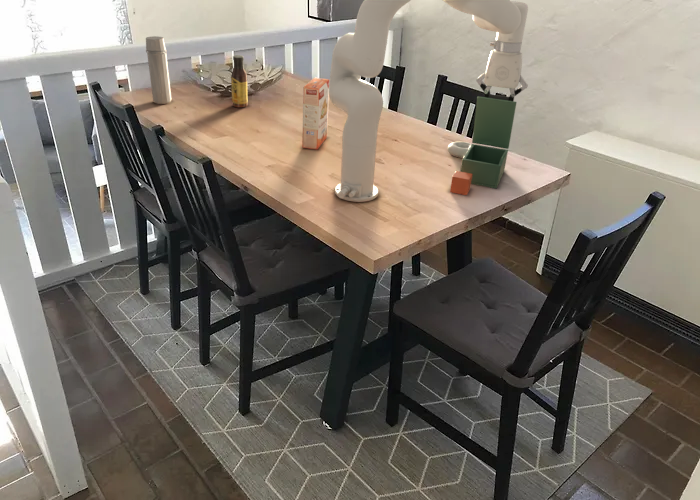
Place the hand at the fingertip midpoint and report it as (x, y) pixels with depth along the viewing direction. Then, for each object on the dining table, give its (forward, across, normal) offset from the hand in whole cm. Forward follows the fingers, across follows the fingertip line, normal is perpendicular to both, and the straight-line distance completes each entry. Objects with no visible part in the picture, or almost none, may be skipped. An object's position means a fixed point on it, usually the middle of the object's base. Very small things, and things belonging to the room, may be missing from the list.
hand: (497, 106), depth 178 cm
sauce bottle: (+20, -104, +19) cm, 108 cm away
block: (+20, -4, -23) cm, 31 cm away
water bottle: (+19, -133, +7) cm, 135 cm away
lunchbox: (+20, 0, -9) cm, 22 cm away
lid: (+4, 0, -4) cm, 6 cm away
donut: (+20, -10, +8) cm, 24 cm away
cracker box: (+20, -59, -6) cm, 63 cm away
